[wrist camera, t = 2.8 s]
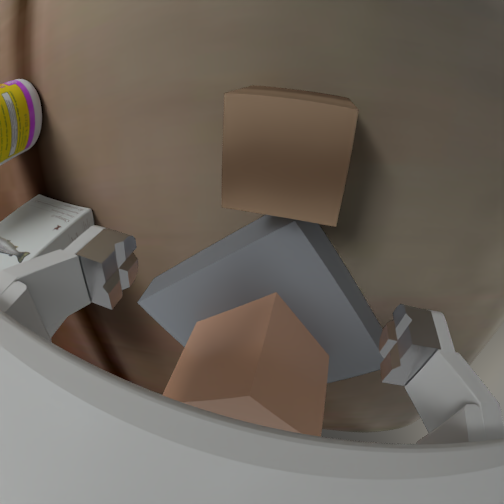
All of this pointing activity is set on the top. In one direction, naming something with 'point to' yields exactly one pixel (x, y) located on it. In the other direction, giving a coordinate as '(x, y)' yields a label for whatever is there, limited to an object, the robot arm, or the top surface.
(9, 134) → the supplement bottle
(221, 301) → the base slab
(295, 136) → the walnut block
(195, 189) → the top surface
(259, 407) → the terracotta block
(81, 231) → the supplement box
